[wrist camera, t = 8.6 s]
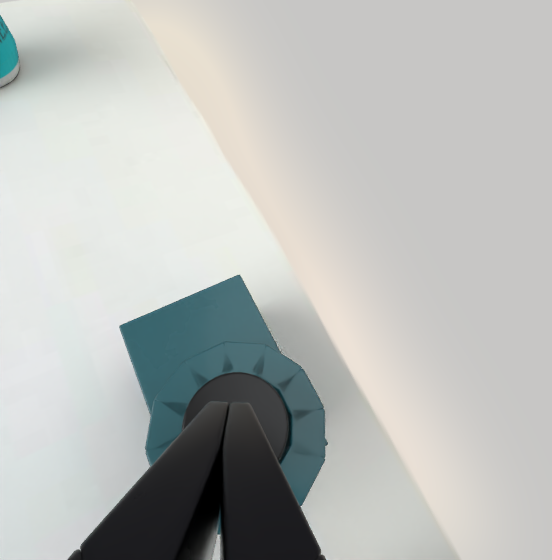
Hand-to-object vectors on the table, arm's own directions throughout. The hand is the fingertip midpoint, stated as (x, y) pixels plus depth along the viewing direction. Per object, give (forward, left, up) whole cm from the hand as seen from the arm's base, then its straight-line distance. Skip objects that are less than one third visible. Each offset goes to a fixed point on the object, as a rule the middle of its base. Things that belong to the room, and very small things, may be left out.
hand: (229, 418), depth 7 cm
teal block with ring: (+1, +2, -12) cm, 12 cm away
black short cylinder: (0, 0, -5) cm, 5 cm away
